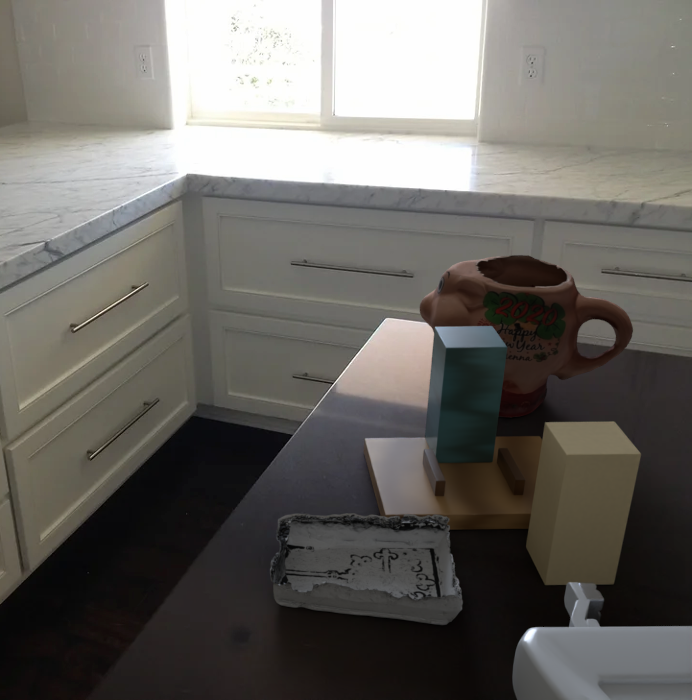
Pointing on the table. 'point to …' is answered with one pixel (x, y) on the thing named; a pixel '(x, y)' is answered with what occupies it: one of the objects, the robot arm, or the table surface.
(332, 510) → the table surface
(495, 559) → the table surface
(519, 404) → the brown sculpted mug
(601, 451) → the beige rectangular block
